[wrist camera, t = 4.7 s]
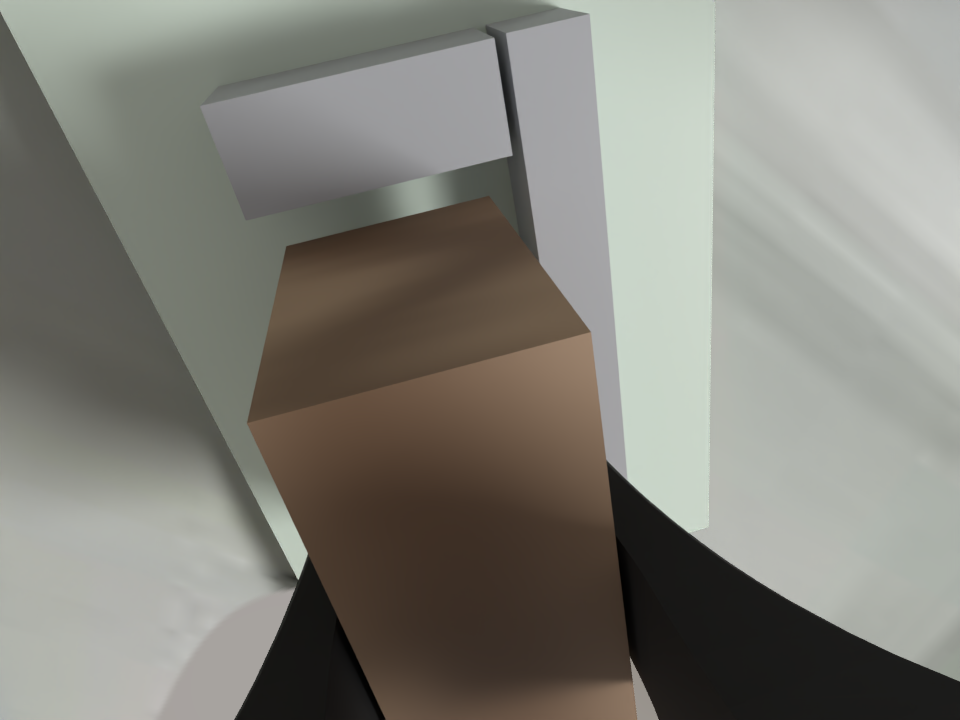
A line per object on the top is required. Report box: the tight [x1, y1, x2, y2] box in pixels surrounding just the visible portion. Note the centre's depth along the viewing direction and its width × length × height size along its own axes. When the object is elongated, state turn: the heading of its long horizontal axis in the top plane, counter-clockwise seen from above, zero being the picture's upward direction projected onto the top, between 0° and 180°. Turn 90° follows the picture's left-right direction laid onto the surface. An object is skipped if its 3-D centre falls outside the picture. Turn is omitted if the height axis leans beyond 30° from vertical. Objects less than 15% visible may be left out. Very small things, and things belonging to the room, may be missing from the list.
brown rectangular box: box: [247, 196, 637, 720], centre depth 12 cm, size 4×9×6 cm, turn 11°
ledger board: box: [0, 0, 716, 580], centre depth 14 cm, size 13×27×3 cm, turn 11°
